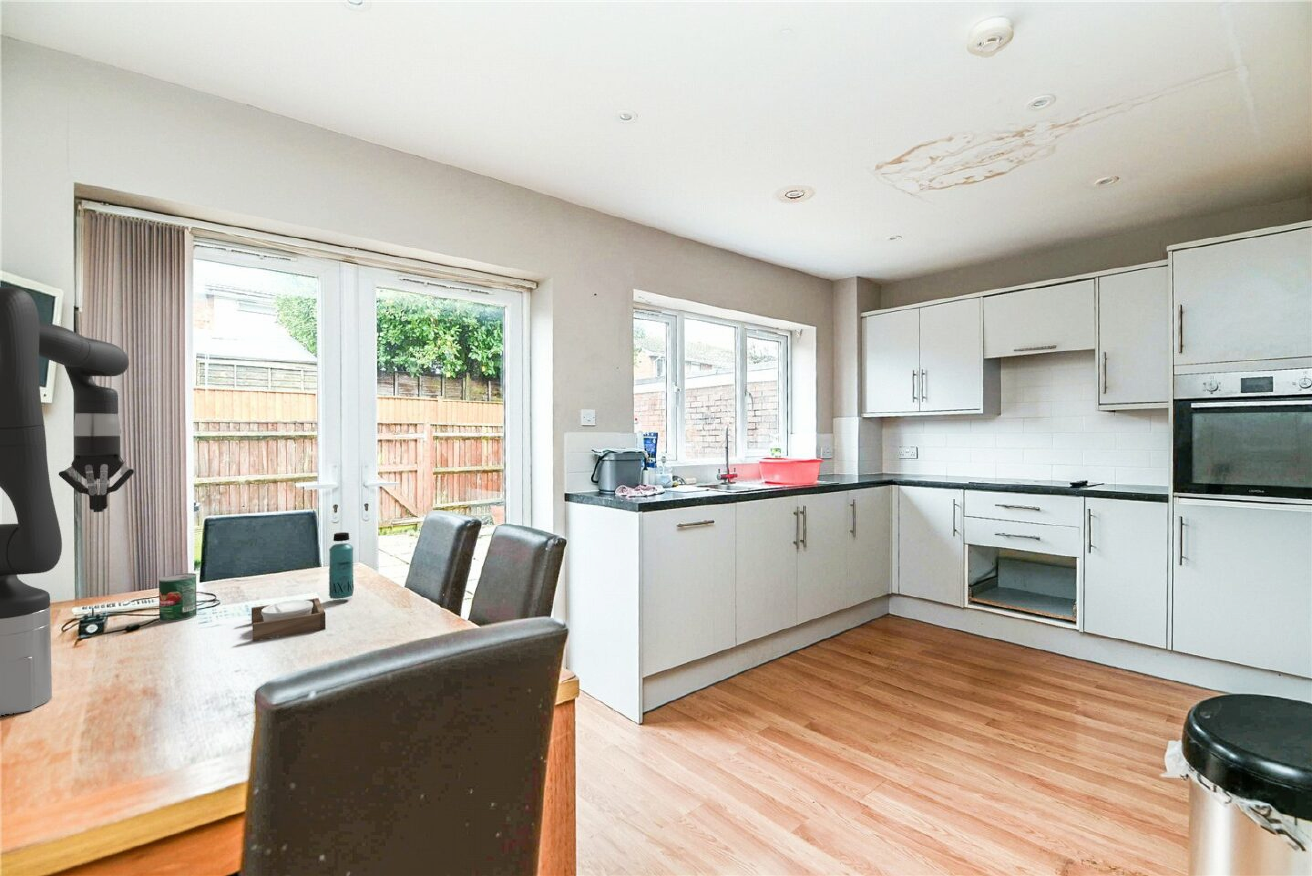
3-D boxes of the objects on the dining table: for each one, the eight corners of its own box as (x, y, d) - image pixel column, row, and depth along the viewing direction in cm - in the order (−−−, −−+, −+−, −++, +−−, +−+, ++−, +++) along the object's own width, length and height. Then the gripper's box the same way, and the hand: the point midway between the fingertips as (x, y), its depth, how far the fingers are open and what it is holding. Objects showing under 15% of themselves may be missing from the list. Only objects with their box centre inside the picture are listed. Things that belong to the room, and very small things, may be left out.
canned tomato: (152, 623, 155) (152, 581, 155) (168, 614, 162) (167, 574, 162) (188, 620, 157) (187, 579, 157) (202, 612, 164) (201, 572, 164)
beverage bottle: (323, 602, 173) (323, 533, 173) (345, 596, 179) (344, 530, 179) (338, 605, 170) (337, 535, 170) (359, 599, 176) (358, 532, 176)
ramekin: (250, 631, 149) (250, 610, 149) (289, 618, 159) (289, 598, 159) (285, 636, 146) (285, 614, 145) (323, 621, 156) (323, 601, 156)
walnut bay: (325, 629, 150) (325, 613, 150) (252, 641, 142) (252, 624, 142) (318, 612, 164) (318, 598, 164) (251, 623, 155) (251, 607, 155)
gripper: (51, 434, 126) (53, 516, 127) (134, 434, 134) (135, 511, 134) (60, 434, 132) (61, 512, 133) (138, 433, 140) (140, 507, 140)
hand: (98, 511), depth 133 cm, fingers closed
